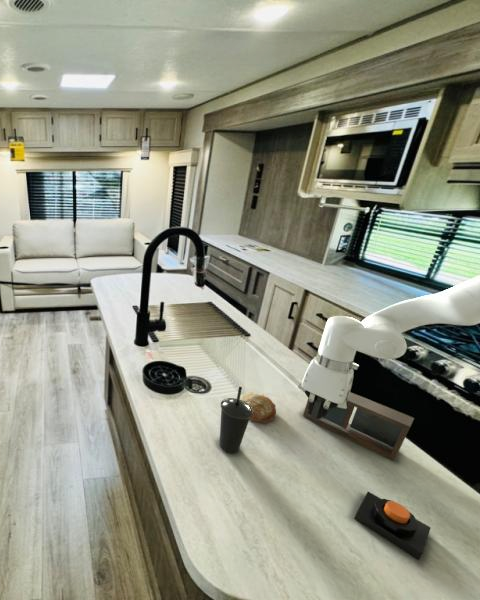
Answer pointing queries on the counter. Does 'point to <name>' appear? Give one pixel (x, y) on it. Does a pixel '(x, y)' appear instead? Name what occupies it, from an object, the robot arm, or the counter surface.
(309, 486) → the counter surface
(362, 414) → the window frame
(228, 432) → the drinking cup
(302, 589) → the counter surface
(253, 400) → the bread roll
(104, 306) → the counter surface
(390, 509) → the button
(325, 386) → the robot arm
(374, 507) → the control block
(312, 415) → the window sash
